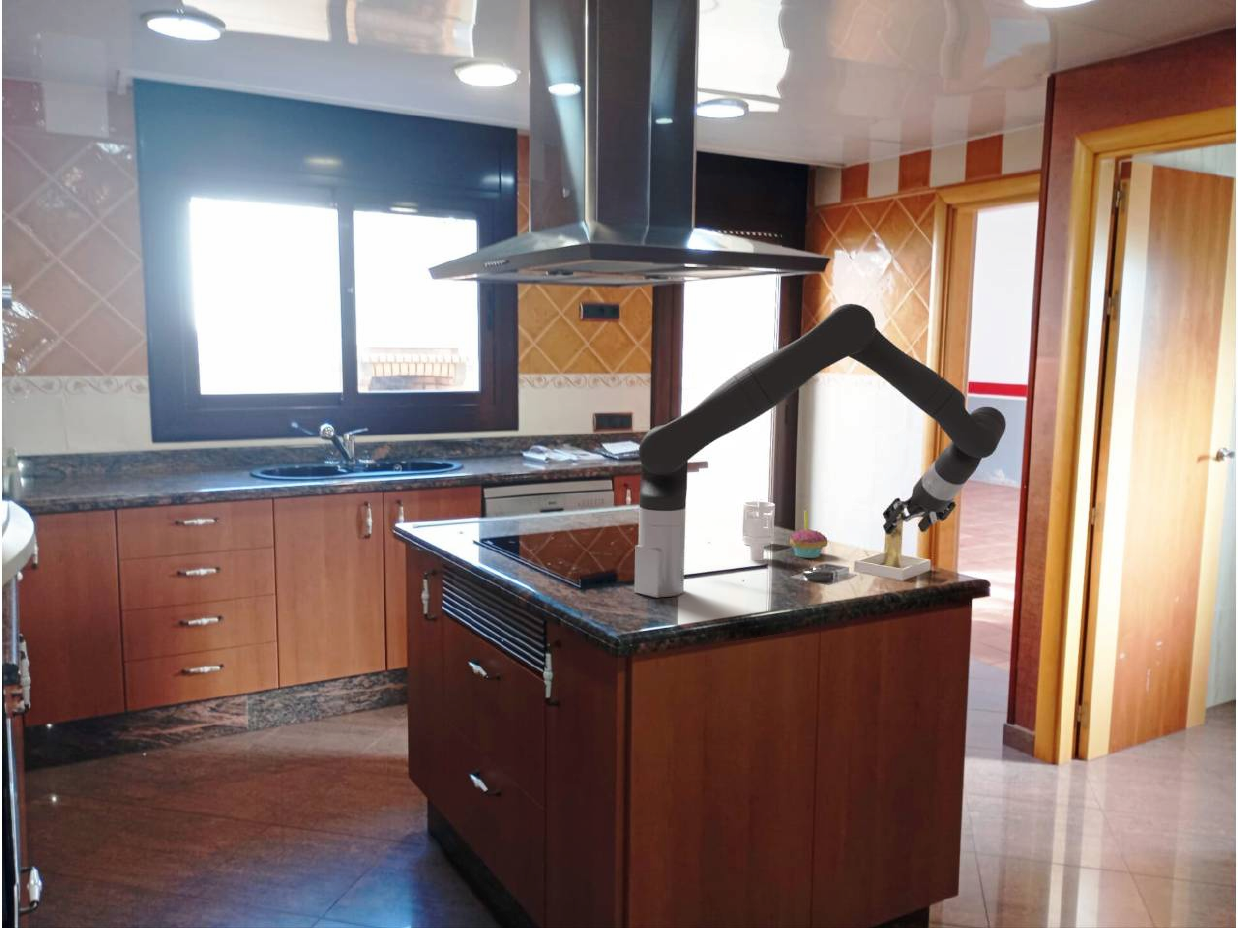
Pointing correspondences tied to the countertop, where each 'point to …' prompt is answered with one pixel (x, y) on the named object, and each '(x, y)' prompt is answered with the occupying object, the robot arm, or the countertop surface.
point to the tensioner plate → (835, 573)
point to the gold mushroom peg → (893, 547)
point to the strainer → (757, 526)
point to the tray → (912, 567)
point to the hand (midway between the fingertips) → (903, 529)
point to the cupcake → (808, 541)
